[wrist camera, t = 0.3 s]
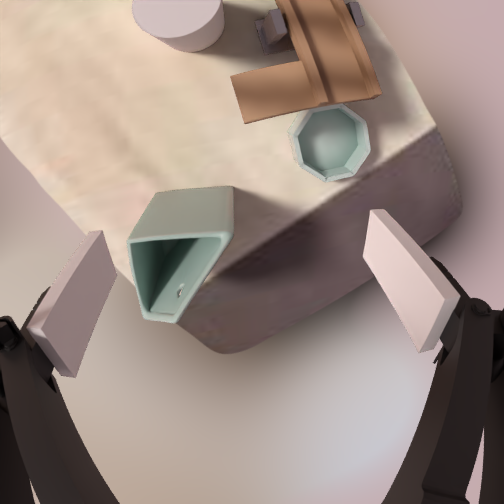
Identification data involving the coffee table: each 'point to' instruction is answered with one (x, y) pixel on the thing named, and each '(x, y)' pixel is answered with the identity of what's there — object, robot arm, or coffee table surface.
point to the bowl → (329, 141)
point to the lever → (310, 65)
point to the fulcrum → (277, 34)
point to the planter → (178, 247)
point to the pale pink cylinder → (181, 22)
